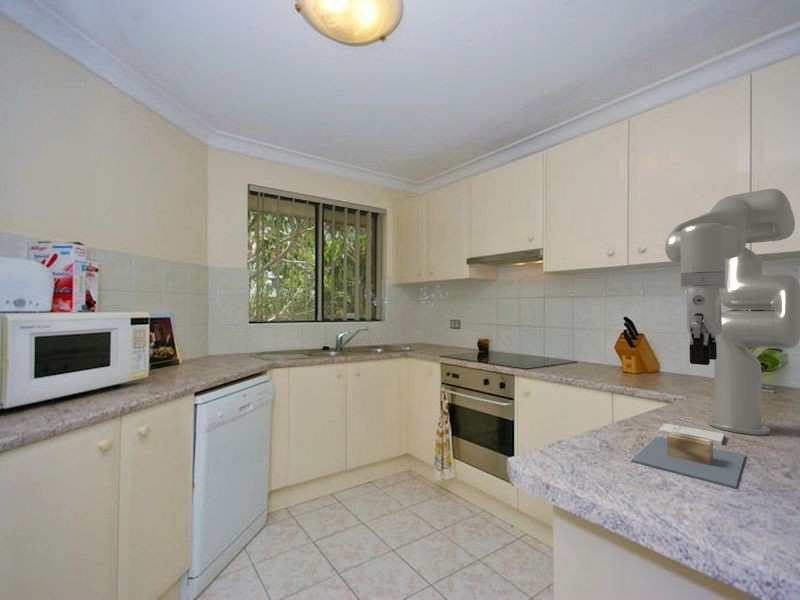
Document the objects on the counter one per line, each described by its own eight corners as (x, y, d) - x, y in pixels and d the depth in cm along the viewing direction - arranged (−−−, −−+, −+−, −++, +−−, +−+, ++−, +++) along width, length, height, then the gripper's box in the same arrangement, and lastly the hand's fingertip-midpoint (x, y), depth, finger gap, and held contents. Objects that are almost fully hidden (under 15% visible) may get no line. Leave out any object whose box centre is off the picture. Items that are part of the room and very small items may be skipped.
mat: (657, 438, 93) (657, 436, 93) (745, 456, 82) (745, 454, 82) (631, 461, 78) (631, 459, 78) (735, 488, 66) (735, 486, 66)
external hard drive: (721, 447, 89) (658, 434, 98) (724, 439, 95) (664, 428, 104) (721, 440, 89) (658, 428, 98) (724, 433, 95) (664, 422, 104)
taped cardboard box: (713, 458, 79) (712, 438, 79) (709, 465, 76) (709, 444, 76) (672, 449, 84) (672, 430, 84) (667, 455, 81) (667, 435, 81)
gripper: (719, 279, 73) (720, 368, 73) (730, 282, 85) (731, 358, 85) (672, 281, 79) (673, 364, 79) (688, 283, 91) (689, 355, 91)
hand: (703, 361), depth 82 cm, fingers open, 9 cm apart
